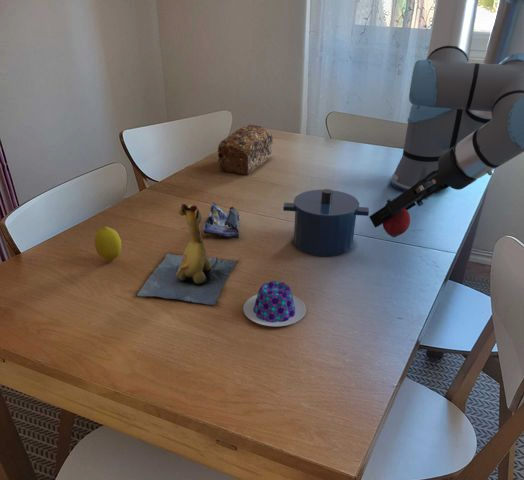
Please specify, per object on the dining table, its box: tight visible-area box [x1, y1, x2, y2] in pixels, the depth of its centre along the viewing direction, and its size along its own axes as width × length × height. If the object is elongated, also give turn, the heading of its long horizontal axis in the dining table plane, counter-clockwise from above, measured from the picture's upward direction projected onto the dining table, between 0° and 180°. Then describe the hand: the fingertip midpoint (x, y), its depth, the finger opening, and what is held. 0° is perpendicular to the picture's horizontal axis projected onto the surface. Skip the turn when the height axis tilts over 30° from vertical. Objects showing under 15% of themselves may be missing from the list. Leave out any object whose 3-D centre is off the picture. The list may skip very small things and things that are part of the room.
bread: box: [217, 124, 274, 176], centre depth 167 cm, size 19×11×10 cm, turn 155°
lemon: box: [94, 226, 122, 262], centre depth 118 cm, size 6×6×8 cm
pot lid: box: [293, 188, 360, 218], centre depth 122 cm, size 15×15×4 cm
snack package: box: [202, 202, 241, 240], centre depth 132 cm, size 12×6×12 cm
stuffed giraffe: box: [136, 203, 238, 306], centre depth 110 cm, size 16×18×16 cm
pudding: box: [242, 280, 307, 327], centre depth 103 cm, size 12×12×5 cm
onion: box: [382, 208, 411, 238], centre depth 117 cm, size 6×6×8 cm
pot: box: [282, 202, 370, 257], centre depth 125 cm, size 14×19×10 cm
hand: (382, 217), depth 119 cm, fingers closed on onion, 6 cm apart
